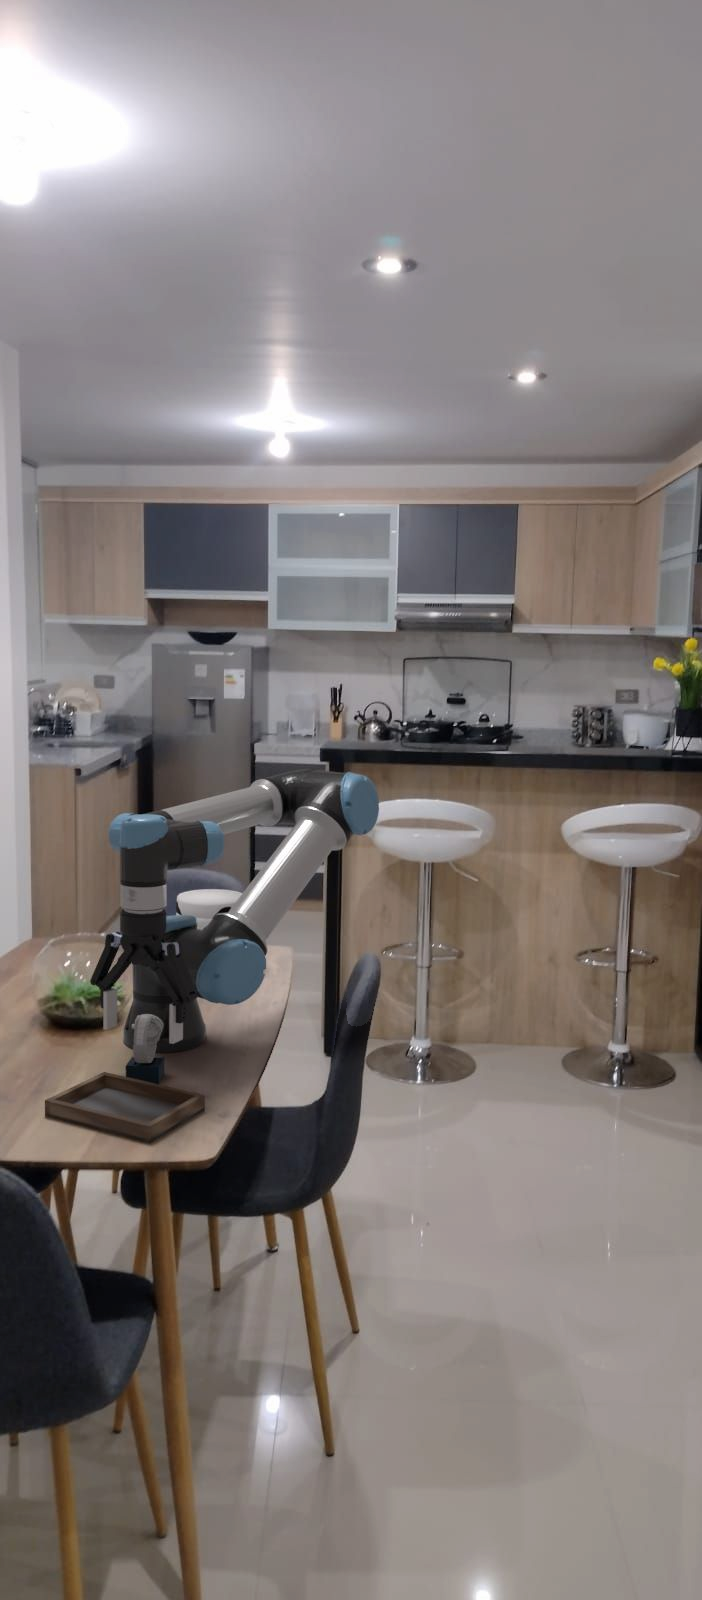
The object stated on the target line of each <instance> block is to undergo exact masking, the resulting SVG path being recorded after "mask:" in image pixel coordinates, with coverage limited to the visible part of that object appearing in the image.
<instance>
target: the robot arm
mask: <svg viewBox="0 0 702 1600" xmlns="http://www.w3.org/2000/svg"><path fill="white" fill-rule="evenodd" d="M379 798H380V797H379V794H378V790H377V787H376V786H375V783H373V781H372V780H371V779H370V778H369V777H368V776H366V775H364V774H359V773H355V772H352V771H348V772H340V771H339V772H338V771H337V772H336V771H330V770H329V771H328V770H323V769H322V770H321V769H313V768H304V769H302V768H301V769H295V770H292V771H287V772H283V773H279V774H275V775H271V776H268V777H263V778H260V779H257V780H254V781H253V782H252V783H251V784H250V786H248V787H246V788H240V789H237V790H233V791H230V792H226V793H222V794H218V795H214V796H211V797H207V798H202V799H199V800H195V801H190V802H187V803H182V804H179V805H176V806H171V807H167V808H163V809H159V810H156V811H151V812H146V813H142V814H138V813H136V812H130V813H128V812H124V813H121V814H119V815H117V816H116V817H115V818H114V819H113V820H112V821H111V824H110V825H109V827H108V828H109V829H108V841H109V844H110V846H111V848H112V849H113V850H114V851H115V852H117V853H118V854H119V863H120V864H119V869H120V873H119V875H120V876H119V877H120V879H119V880H120V887H119V889H120V890H119V891H120V892H119V893H120V895H119V896H120V898H119V899H120V900H119V901H120V902H119V904H120V908H121V909H122V910H121V911H120V912H119V931H115V932H111V933H108V934H106V935H105V940H104V941H105V942H104V947H103V950H102V952H101V954H100V957H99V959H98V961H97V963H96V966H95V968H94V971H93V973H92V975H91V977H90V980H89V981H90V982H89V983H90V985H92V986H96V987H97V988H98V989H99V990H100V1003H99V1004H100V1007H101V1009H103V1011H102V1012H103V1016H102V1017H103V1020H102V1021H103V1024H102V1025H103V1028H102V1029H103V1030H106V1031H108V1030H110V1029H113V1028H116V1027H118V988H116V983H117V982H118V981H119V980H120V978H121V976H122V975H124V973H125V972H126V971H127V969H128V968H129V966H131V965H132V1002H131V1005H130V1008H129V1011H128V1015H127V1018H126V1020H125V1024H124V1028H123V1043H124V1045H125V1046H127V1047H128V1048H130V1049H133V1046H134V1038H135V1037H134V1031H135V1029H132V1024H135V1020H136V1018H137V1016H138V1015H143V1014H151V1015H154V1016H157V1017H158V1018H160V1019H161V1020H162V1022H163V1024H164V1027H163V1030H162V1033H161V1035H160V1038H159V1041H157V1044H156V1045H157V1046H156V1051H155V1054H156V1053H158V1054H159V1053H160V1054H163V1053H165V1054H166V1053H175V1052H181V1051H186V1050H187V1051H188V1050H191V1049H194V1048H196V1047H199V1046H201V1045H202V1044H203V1043H204V1042H206V1040H207V1039H206V1038H207V1027H206V1024H205V1021H204V1018H203V1015H202V1010H201V1008H200V1005H199V1001H198V998H199V999H203V1000H205V1001H208V1002H210V1003H212V1004H222V1005H226V1006H227V1005H228V1006H231V1005H232V1006H234V1005H237V1004H241V1003H243V1002H245V1001H247V1000H248V999H250V998H251V997H252V996H254V994H255V993H256V992H257V991H258V990H259V988H260V987H261V986H262V983H263V982H264V979H265V976H266V975H265V973H264V971H266V969H267V958H266V955H267V954H268V945H267V940H268V939H269V937H270V936H271V934H272V933H273V932H274V930H275V929H276V928H277V926H278V925H279V924H280V922H281V920H282V919H283V918H284V917H285V916H286V914H287V912H288V911H289V910H290V909H291V907H292V906H293V904H294V903H295V901H296V900H297V899H298V898H299V896H300V895H301V893H303V891H304V889H305V888H306V887H307V885H308V883H309V882H310V881H311V880H312V878H313V877H314V876H315V874H316V873H317V872H318V870H319V869H320V867H321V866H322V865H323V864H324V861H325V860H326V859H327V858H328V857H329V855H330V854H331V852H332V851H340V850H343V849H344V848H345V846H346V845H347V844H348V842H349V841H350V840H351V838H353V836H354V835H356V836H362V835H367V834H369V833H370V832H371V831H372V830H373V829H374V827H375V825H376V824H377V822H378V818H379V814H380V813H379V811H380V805H379V804H380V800H379ZM259 825H261V826H263V827H266V828H267V827H268V828H271V827H273V826H277V825H292V826H293V827H292V828H291V830H290V831H289V832H288V834H287V835H286V836H285V837H284V839H283V840H282V841H281V842H280V844H279V846H278V847H277V848H276V849H275V851H274V852H272V855H271V856H270V857H269V859H268V860H267V861H266V863H264V865H263V866H262V867H261V869H260V870H259V871H258V873H257V874H256V875H255V876H254V878H253V880H251V881H250V883H249V884H248V886H247V887H246V889H244V891H243V892H242V893H243V894H242V895H241V896H240V898H239V899H238V900H237V901H236V903H235V904H234V905H233V907H232V908H231V909H230V911H229V912H228V913H219V914H216V915H215V916H214V918H213V919H212V920H211V921H210V923H209V924H208V925H207V927H206V928H205V929H204V930H200V929H197V926H198V925H197V924H198V923H197V922H196V918H195V917H194V916H190V915H176V914H175V915H167V911H166V910H165V908H166V907H167V904H168V902H167V901H168V897H167V896H168V893H167V889H168V887H167V885H168V880H167V878H168V871H171V870H178V869H185V868H192V867H204V866H206V865H210V864H213V863H216V862H217V861H219V860H220V858H221V857H222V856H223V853H224V850H225V837H224V835H227V834H230V833H235V832H237V831H241V830H244V829H248V828H251V827H255V826H259ZM120 947H121V948H122V950H123V952H122V953H121V955H120V956H119V957H118V958H117V961H116V963H115V964H114V965H113V962H114V960H115V958H116V956H117V953H118V951H119V949H120ZM112 965H113V966H112ZM111 967H112V968H111Z"/></svg>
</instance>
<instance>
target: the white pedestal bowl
mask: <svg viewBox="0 0 702 1600" xmlns="http://www.w3.org/2000/svg"><path fill="white" fill-rule="evenodd" d="M242 894H243V892H240V891H237V890H232V889H222V888H221V889H219V888H206V889H205V888H204V889H203V888H202V889H193V890H187V891H183V892H180V893H178V895H177V896H176V904H175V911H176V913H175V915H190V916H194V917H195V918H196V922H197V923H198V924H197V925H198V926H197V929H200V930H204V929H205V928H206V927H207V925H208V924H209V923H210V921H211V920H212V919H213V918H214V916H215V915H216V914H219V913H228V912H229V911H230V909H231V908H232V907H233V905H234V904H235V903H236V901H237V900H238V899H239V898H240V896H241V895H242Z"/></svg>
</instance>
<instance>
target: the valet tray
mask: <svg viewBox="0 0 702 1600" xmlns="http://www.w3.org/2000/svg"><path fill="white" fill-rule="evenodd" d="M205 1111H206V1095H205V1094H202V1093H197V1092H193V1091H189V1090H185V1089H180V1088H176V1087H172V1086H167V1085H162V1084H160V1083H159V1084H155V1083H151V1082H146V1081H142V1080H137V1079H133V1078H129V1077H126V1076H123V1075H119V1074H115V1073H111V1072H106V1071H103V1072H100V1073H98V1074H97V1075H94V1076H93V1077H91V1078H89V1079H86V1080H85V1081H82V1082H80V1083H78V1084H75V1085H74V1086H72V1087H69V1088H68V1089H65V1090H63V1091H61V1092H58V1093H57V1094H55V1095H52V1096H50V1097H49V1098H47V1099H44V1116H45V1117H46V1118H47V1117H48V1118H50V1119H54V1120H55V1119H56V1120H58V1121H62V1122H66V1123H70V1124H74V1125H78V1126H81V1127H84V1128H85V1127H86V1128H89V1129H92V1130H97V1131H101V1132H104V1133H108V1134H111V1135H115V1136H120V1137H123V1138H127V1139H131V1140H135V1141H139V1142H143V1143H147V1144H151V1143H153V1142H155V1141H156V1140H158V1139H160V1138H162V1137H163V1136H165V1135H167V1134H168V1133H170V1132H171V1131H173V1130H175V1129H176V1128H179V1127H180V1126H181V1125H183V1124H185V1123H186V1122H189V1121H190V1120H191V1119H193V1118H196V1116H198V1115H200V1114H202V1113H203V1112H205Z"/></svg>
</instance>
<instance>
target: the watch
mask: <svg viewBox="0 0 702 1600" xmlns="http://www.w3.org/2000/svg"><path fill="white" fill-rule="evenodd" d="M163 1027H164V1024H163V1022H162V1020H161V1019H160V1018H158V1017H157V1016H154V1015H151V1014H143V1015H138V1016H137V1018H136V1020H135V1024H132V1029H135V1031H134V1037H135V1038H134V1046H133V1051H132V1052H133V1056H131V1057H130V1059H129V1061H128V1062H127V1063H126V1065H125V1077H129V1078H133V1079H137V1080H142V1081H146V1082H151V1083H155V1084H159V1085H160V1083H161V1082H162V1080H163V1078H164V1077H165V1057H155V1056H156V1055H155V1054H156V1053H155V1051H156V1046H157V1045H156V1044H157V1041H159V1038H160V1035H161V1033H162V1030H163Z"/></svg>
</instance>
